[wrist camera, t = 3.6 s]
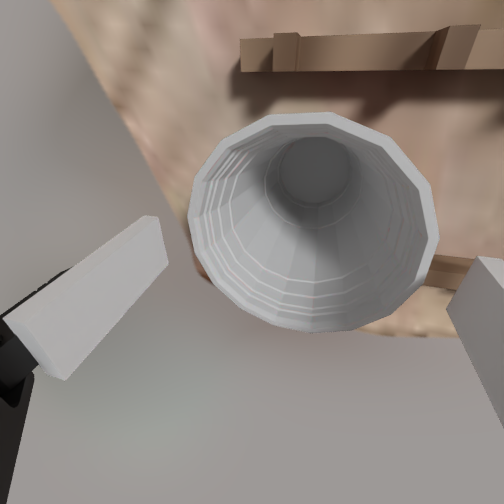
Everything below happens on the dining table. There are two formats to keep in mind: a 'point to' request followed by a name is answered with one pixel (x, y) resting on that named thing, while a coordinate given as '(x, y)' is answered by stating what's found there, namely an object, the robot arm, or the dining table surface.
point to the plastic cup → (313, 222)
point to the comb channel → (384, 58)
